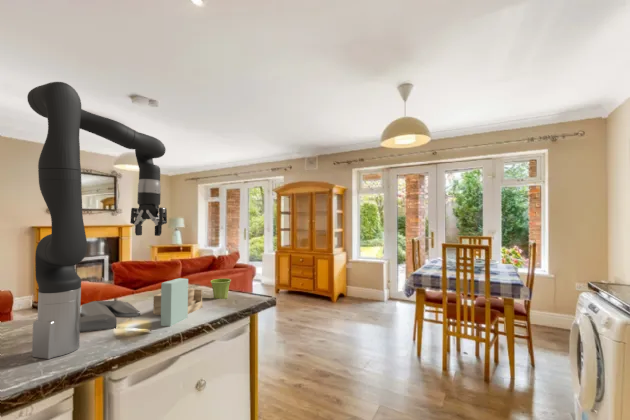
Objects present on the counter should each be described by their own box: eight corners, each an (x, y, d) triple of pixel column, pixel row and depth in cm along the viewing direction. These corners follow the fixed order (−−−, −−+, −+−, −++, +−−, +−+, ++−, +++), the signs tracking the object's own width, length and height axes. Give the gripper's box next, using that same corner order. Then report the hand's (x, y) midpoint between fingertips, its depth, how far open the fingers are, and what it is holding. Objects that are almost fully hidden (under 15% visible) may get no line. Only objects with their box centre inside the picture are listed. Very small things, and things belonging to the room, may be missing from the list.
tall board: (170, 328, 101) (171, 283, 102) (160, 327, 102) (161, 283, 102) (187, 319, 110) (188, 278, 110) (178, 318, 111) (178, 278, 111)
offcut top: (183, 298, 116) (183, 292, 116) (175, 297, 117) (175, 291, 117) (194, 295, 122) (194, 288, 122) (186, 294, 123) (186, 288, 123)
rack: (182, 319, 111) (183, 297, 112) (153, 316, 114) (153, 295, 115) (203, 309, 124) (203, 289, 124) (176, 307, 127) (176, 288, 127)
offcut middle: (181, 306, 114) (181, 299, 114) (171, 305, 115) (171, 299, 115) (193, 301, 122) (193, 294, 122) (184, 300, 123) (184, 294, 123)
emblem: (158, 299, 121) (92, 321, 94) (157, 312, 121) (91, 339, 94) (102, 295, 127) (26, 315, 100) (102, 308, 127) (25, 331, 100)
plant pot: (233, 299, 139) (233, 281, 140) (212, 302, 135) (212, 283, 135) (228, 295, 147) (228, 277, 148) (208, 297, 143) (208, 279, 143)
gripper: (125, 191, 110) (124, 235, 109) (157, 190, 106) (156, 236, 105) (141, 193, 117) (140, 235, 116) (172, 192, 113) (171, 235, 113)
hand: (148, 235), depth 111 cm, fingers open, 8 cm apart
